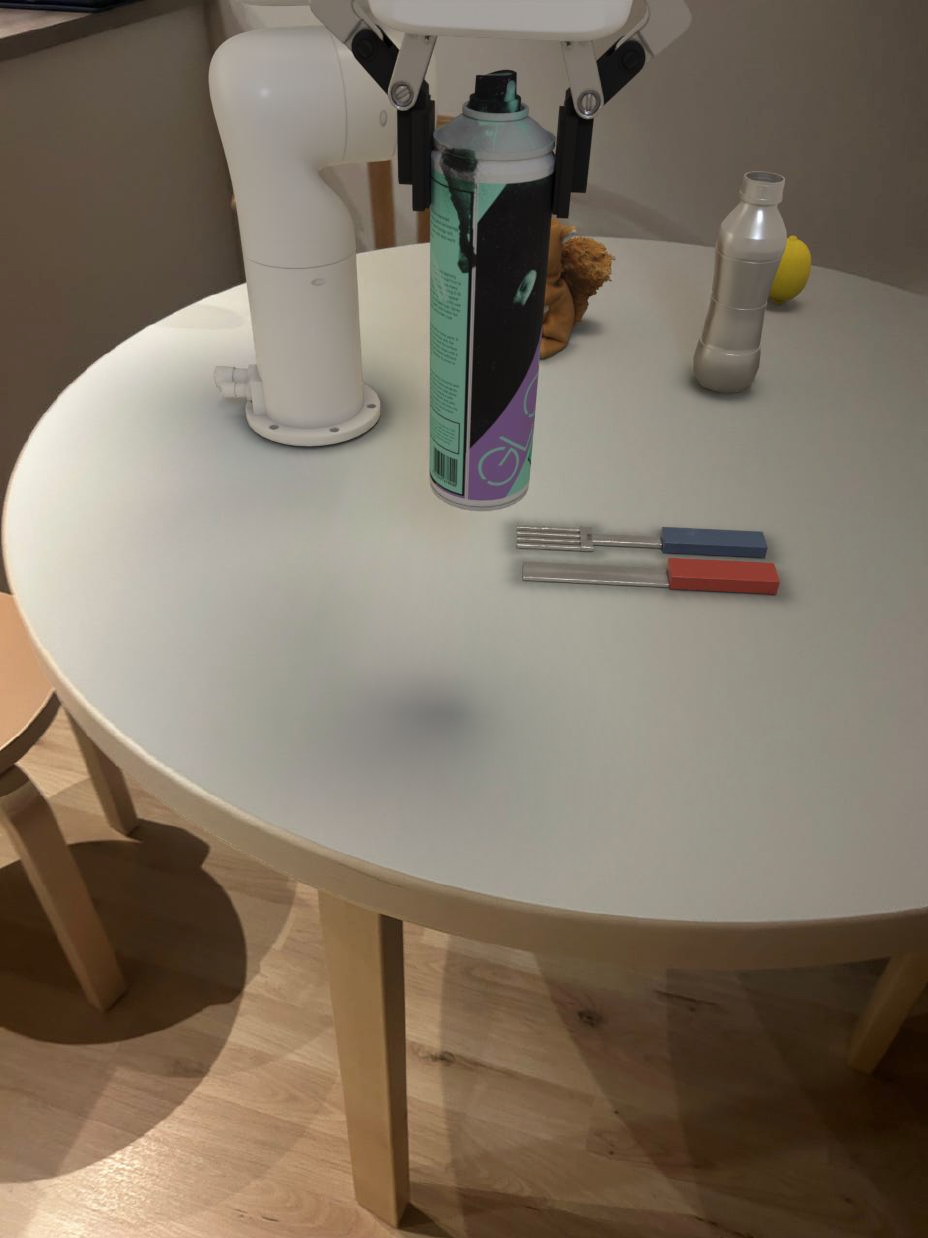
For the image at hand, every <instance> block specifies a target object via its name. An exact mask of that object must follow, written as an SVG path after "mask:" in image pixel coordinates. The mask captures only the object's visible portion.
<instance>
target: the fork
mask: <svg viewBox="0 0 928 1238" xmlns="http://www.w3.org/2000/svg"><path fill="white" fill-rule="evenodd" d="M516 530H517V531H516V536H517V537H516V548H517V549H532V550H533V549H534V550H535V549H537V550H557V551H575V552H594V546H610V547H630V548H647V549H648V548H649V549H650V548H651V549H662V553H664V554H667V553H668V554H681V555H682V554H685V555H703V556H704V555H705V556H723V557H724V556H725V557H745V558H746V557H747V558H748V557H749V558H763V559H764V558H766V555H767V552H768V543H767V540H766V538H765V534H764V531H760V530H758V531H757V530H737V529H719V528H717V529H714V528H695V527H676V526H675V527H674V526H661V530H660V534H659V535H660V536H646V535H645V536H643V535H623V534H604V533H603V534H602V533H593V528H592V527H591V526H579V527H571V526H570V527H565V526H547V525H529V524H527V525H526V524H525V525H524V524H517V525H516Z"/></svg>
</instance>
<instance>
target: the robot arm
mask: <svg viewBox="0 0 928 1238" xmlns="http://www.w3.org/2000/svg"><path fill="white" fill-rule="evenodd" d="M234 1H235V2H237V3H241V4H245V5H247V6H248V5H249V6H259V7H299V6H300V7H303V6H309V8H310V11H311V13H312V14H313V15H314V17H315V18H316V19H317V20H318V21H319V22H320V23H321V25H297V26H295V25H294V26H280V27H279V26H276V27H275V26H274V27H265V28H256V29H251V30H248V31H244V32H240V33H238V34H235V35H233V36H231V37H229V38H228V39H226V40H225V41H223V42H222V43H221V44H220V45H219V46H218V47H217V49H216V50H215V51H214V54H213V55H212V57H211V60H210V63H209V67H208V88H209V97H210V102H211V106H212V112H213V115H214V118H215V123H216V126H217V130H218V133H219V137H220V140H221V143H222V148H223V151H224V155H225V159H226V162H227V163H226V164H227V167H228V171H229V177H230V180H231V185H232V190H233V191H232V192H233V196H234V202H235V208H236V214H237V222H238V228H239V236H240V243H241V245H240V246H241V252H242V258H243V259H242V260H243V265H244V266H243V267H244V274H245V282H246V288H247V298H248V306H249V313H250V322H251V329H252V338H253V345H254V353H255V362H256V364H248V366H247V367H236V366H228V365H227V366H226V365H225V366H224V365H222V366H221V365H216V366H215V367H214V370H213V371H214V372H213V381H214V385H215V386H216V387H217V388H220V393H221V396H222V398H234V399H235V398H246V400H247V401H246V403H245V416H246V421H247V423H248V426H249V427H250V428H251V430H253V431H254V433H256V434H258V435H259V436H260V437H263V438H265V439H267V440H269V441H272V442H275V443H279V444H283V445H287V446H295V447H321V446H322V447H323V446H328V445H335V444H339V443H344V442H347V441H351V440H353V439H355V438H358V437H360V436H362V435H363V434H365V433H367V432H368V431H370V429H372V428H373V427H374V426H375V425H376V423H378V421H379V419H380V416H381V400H380V397H379V395H378V393H377V392H376V391H375V390H374V389H372V387H370V386H369V385H367V384H366V383H364V382H363V380H364V379H363V359H362V343H361V342H362V340H361V323H360V322H361V320H360V304H359V303H360V302H359V301H360V299H359V282H358V281H359V280H358V265H357V246H356V245H357V244H356V242H357V241H356V231H355V225H354V224H355V223H354V221H353V218H352V215H351V213H350V211H349V209H348V208H347V206H346V204H345V203H344V202H343V200H342V199H341V198H340V197H339V196H338V194H336V192H335V191H334V190H333V189H332V188H331V187H330V186H329V185H328V183H326V181H324V180H323V178H322V177H321V174H320V172H321V171H322V170H323V169H325V168H330V167H337V166H341V165H352V164H364V163H374V162H386V161H387V162H388V161H395V160H397V180H398V181H397V182H398V185H405V186H407V185H408V186H411V208H412V212H422V213H424V212H425V211H426V209H429V210H430V204H431V152H432V149H433V148H434V147H435V145H434V142H433V133H434V131H435V130H436V129H437V123H438V113H439V111H438V109H439V95H438V94H439V92H438V91H439V88H438V74H437V73H438V72H437V58H436V44H437V40H438V37H451V38H474V39H494V40H495V39H496V40H516V41H517V40H521V41H541V42H542V41H545V42H546V41H547V42H559V43H560V48H561V53H562V57H563V61H564V67H565V70H566V71H565V72H566V75H567V79H568V85H569V87H568V88H567V89H566V90H565V96H564V101H563V105H558V115H557V116H558V117H557V127H556V128H557V130H556V141H555V152H554V154H555V155H556V169H555V181H554V193H553V205H552V216H556V219H569V217H570V206H571V195H572V193H574V194H586V193H587V187H588V179H589V170H590V160H591V149H592V142H593V141H592V140H593V133H594V131H593V130H594V123H595V122H594V121H595V118H596V117H598V116H599V115H600V114H601V112H602V110H603V108H604V106H605V105H607V103H608V102H609V101H611V100H612V99H613V98H614V97H615V96H616V95H617V94H618V93H619V92H620V91H621V90H622V89H623V88H624V87H625V86H626V85H628V83H630V82H631V81H632V80H633V79H634V78H635V77H636V76H637V75H638V74H639V73H640V72H641V71H642V70H643V69H644V66H646V65H647V64H648V63H649V62H650V61H652V60H653V59H655V58H656V57H658V56H659V55H660V54H661V53H662V52H663V51H664V50H666V49H667V48H668V47H669V46H670V45H672V44H673V43H674V42H675V41H676V40H677V39H679V38H680V37H681V36H682V35H684V34H685V33H686V32H687V31H688V30H689V28H690V27H691V24H692V22H693V14H692V11H691V9H690V6H689V5H688V3H687V1H686V0H643V1H644V3H645V7H646V10H645V13H644V16H643V18H642V19H641V20H640V21H639V22H638V23H636V24H635V26H634V27H633V28H632V29H631V30H630V31H628V32H627V33H626V34H624V35H622V36H620V37H619V38H618V39H616V41H615V42H614V43H613V44H612V45H611V46H610V47H609V48H608V49H607V50H606V51H605V52H604V53H602V55H601V56H600V57H599V58H597V57H596V52H595V47H594V41H595V40H600V39H604V38H606V37H609V36H611V35H613V34H615V33H616V32H618V31H619V30H621V29H622V28H623V27H624V26H625V24H626V23H627V21H628V18H629V16H630V13H631V9H632V7H633V3H634V0H234Z"/></svg>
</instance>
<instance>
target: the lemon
mask: <svg viewBox="0 0 928 1238" xmlns="http://www.w3.org/2000/svg"><path fill="white" fill-rule="evenodd" d="M811 271H812V255H811V251H810V249H809V248H808V246H807V244H806V243H805V242H803V241H802V240H801V239H798V237H797V236H796V235H790V236H789V237H787V244H786V248H785V251H784V254H783V256H782V259H781V262H780V265H779V267H778V270H777V273H776V275H775V278H774V281H773V284H772V287H771V291H770V295H769V298H768V299H771V300H772V301H773V304H775V305H781V304H783V303H784V302H786V301H787V302H788V301H790V300H793V299H794V298H796V297H797V296H799V295H800V294H801V293H802V292H803V290H804V289H805V288H806V285H807V283H808V281H809V278H810V275H811Z"/></svg>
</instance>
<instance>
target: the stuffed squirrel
mask: <svg viewBox="0 0 928 1238" xmlns="http://www.w3.org/2000/svg"><path fill="white" fill-rule="evenodd" d="M577 232H578V229H577V227H576V226H575V225H563V224H562V223H561V222H560V221H559V219H557V218H554V217H552V218H551V230H550V242H549V254H548V266H547V278H546V290H545V302H544V314H543V326H542V338H541V350H540V359H545V358H547V357H551V356H552V355H554V354H556V353H557V352H559V351H562V350H563V349H564V348H565V347H566V345H567V344H568V342H569V338H570V336H571V331H572V328H573V327H575V326H576V325H577V324H578V323H580V322H582V321H583V317H584V315H585V314H586V312H587V310H588V308H589V304H590V302H589V299H590V298H591V297H593V296H596V295H597V294H598V292H597V291H599V290H600V288H602V287H603V286H604V283H607V282H608V281H609V282H613V280H612V278H611V275H613V270H612V264H613V262H614V261H616V260H617V259H616V256H615V255H613V254H612V253H609V251H607V247H606V245H604V244H603V243H602V242H599V241H597V240H595V239H594V238H592V237H586V236H583V237H582V235H578V237H576V236H575V235H576V234H577Z"/></svg>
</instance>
